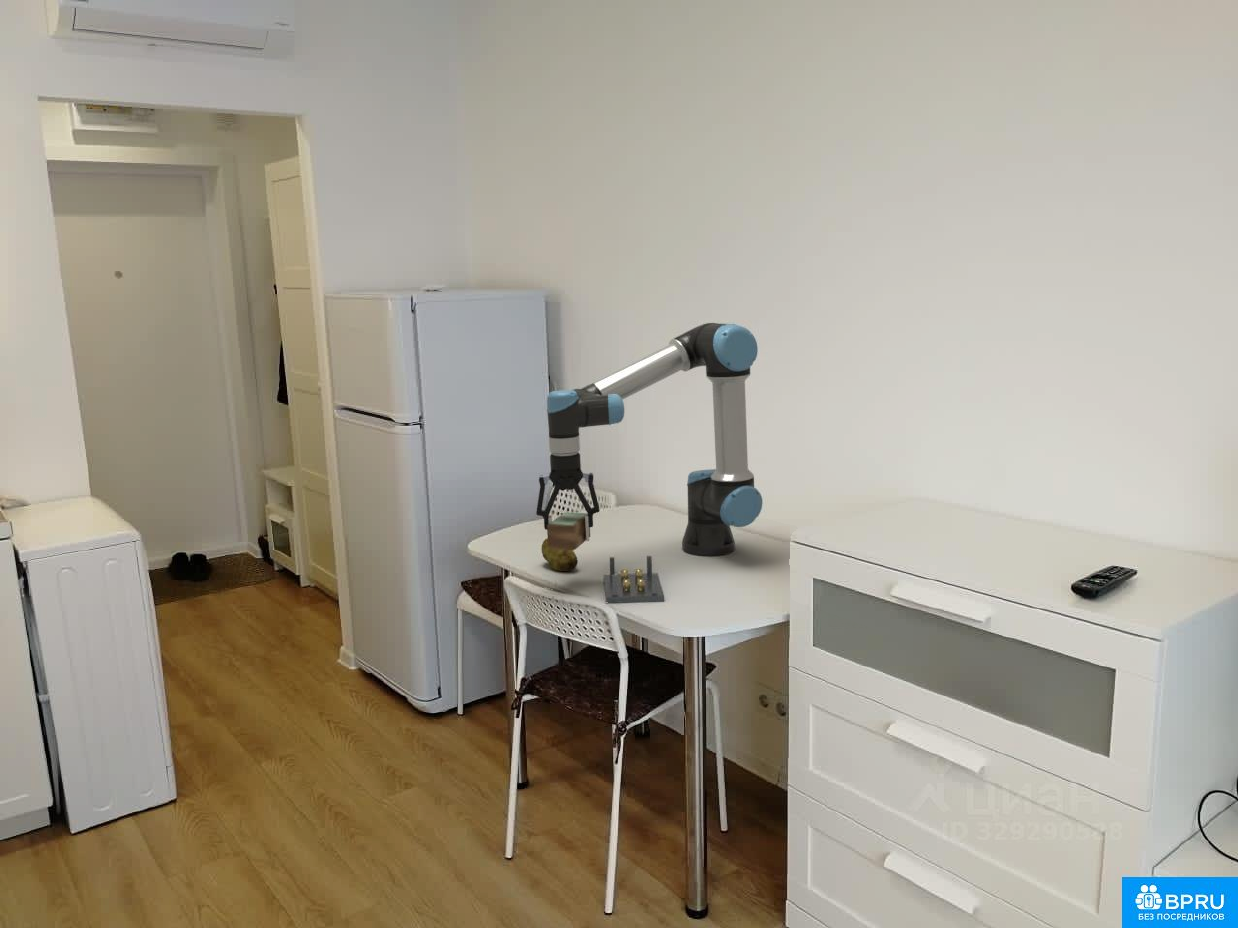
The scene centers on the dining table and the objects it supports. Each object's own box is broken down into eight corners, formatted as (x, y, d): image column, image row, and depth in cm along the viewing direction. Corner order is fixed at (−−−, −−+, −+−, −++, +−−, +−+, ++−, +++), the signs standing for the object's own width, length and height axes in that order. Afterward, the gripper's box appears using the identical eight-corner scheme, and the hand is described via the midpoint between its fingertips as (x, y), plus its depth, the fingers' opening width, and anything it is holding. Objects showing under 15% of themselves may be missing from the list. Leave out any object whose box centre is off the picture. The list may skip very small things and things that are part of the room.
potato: (549, 576, 258) (548, 546, 257) (539, 562, 270) (538, 534, 269) (579, 572, 261) (579, 543, 259) (568, 559, 273) (568, 532, 271)
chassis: (603, 580, 254) (603, 556, 252) (657, 578, 254) (657, 554, 253) (606, 603, 236) (605, 577, 235) (664, 601, 237) (663, 575, 235)
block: (565, 535, 254) (563, 512, 253) (590, 536, 252) (589, 513, 251) (548, 548, 243) (546, 524, 242) (574, 549, 241) (573, 525, 239)
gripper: (607, 448, 247) (610, 534, 251) (522, 452, 246) (528, 538, 250) (608, 453, 239) (612, 542, 244) (521, 458, 239) (526, 546, 243)
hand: (569, 540), depth 247 cm, fingers closed on block, 8 cm apart
